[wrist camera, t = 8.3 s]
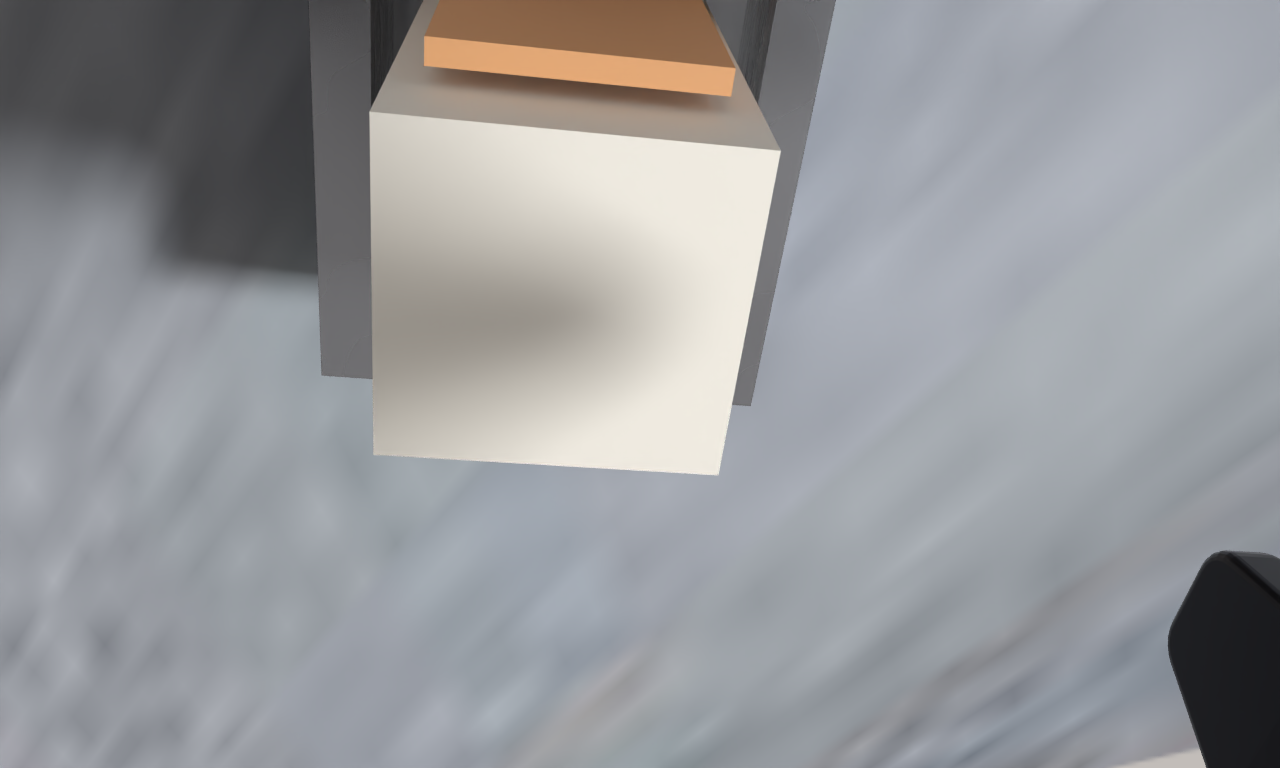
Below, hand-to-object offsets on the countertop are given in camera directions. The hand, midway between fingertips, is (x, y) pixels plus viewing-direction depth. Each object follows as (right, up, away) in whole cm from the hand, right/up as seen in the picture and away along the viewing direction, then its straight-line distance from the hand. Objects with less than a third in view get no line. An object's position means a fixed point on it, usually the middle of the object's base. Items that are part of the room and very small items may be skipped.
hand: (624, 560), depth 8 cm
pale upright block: (-1, +6, +10) cm, 11 cm away
